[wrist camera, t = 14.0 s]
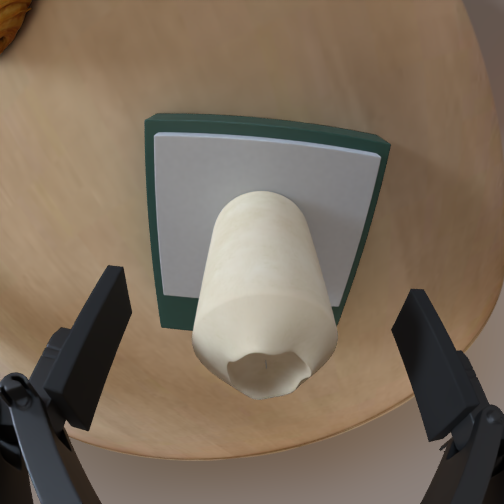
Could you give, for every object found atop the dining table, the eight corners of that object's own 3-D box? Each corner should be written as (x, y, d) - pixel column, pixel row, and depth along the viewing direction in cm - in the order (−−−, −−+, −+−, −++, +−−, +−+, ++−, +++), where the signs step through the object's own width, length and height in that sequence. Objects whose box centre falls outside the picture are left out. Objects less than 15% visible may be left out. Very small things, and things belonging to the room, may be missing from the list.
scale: (377, 135, 18) (396, 148, 16) (327, 318, 27) (334, 345, 24) (156, 113, 18) (139, 122, 15) (166, 307, 26) (158, 335, 24)
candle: (205, 196, 17) (164, 332, 9) (305, 184, 17) (352, 315, 9) (223, 274, 20) (207, 416, 12) (309, 265, 20) (339, 406, 12)
